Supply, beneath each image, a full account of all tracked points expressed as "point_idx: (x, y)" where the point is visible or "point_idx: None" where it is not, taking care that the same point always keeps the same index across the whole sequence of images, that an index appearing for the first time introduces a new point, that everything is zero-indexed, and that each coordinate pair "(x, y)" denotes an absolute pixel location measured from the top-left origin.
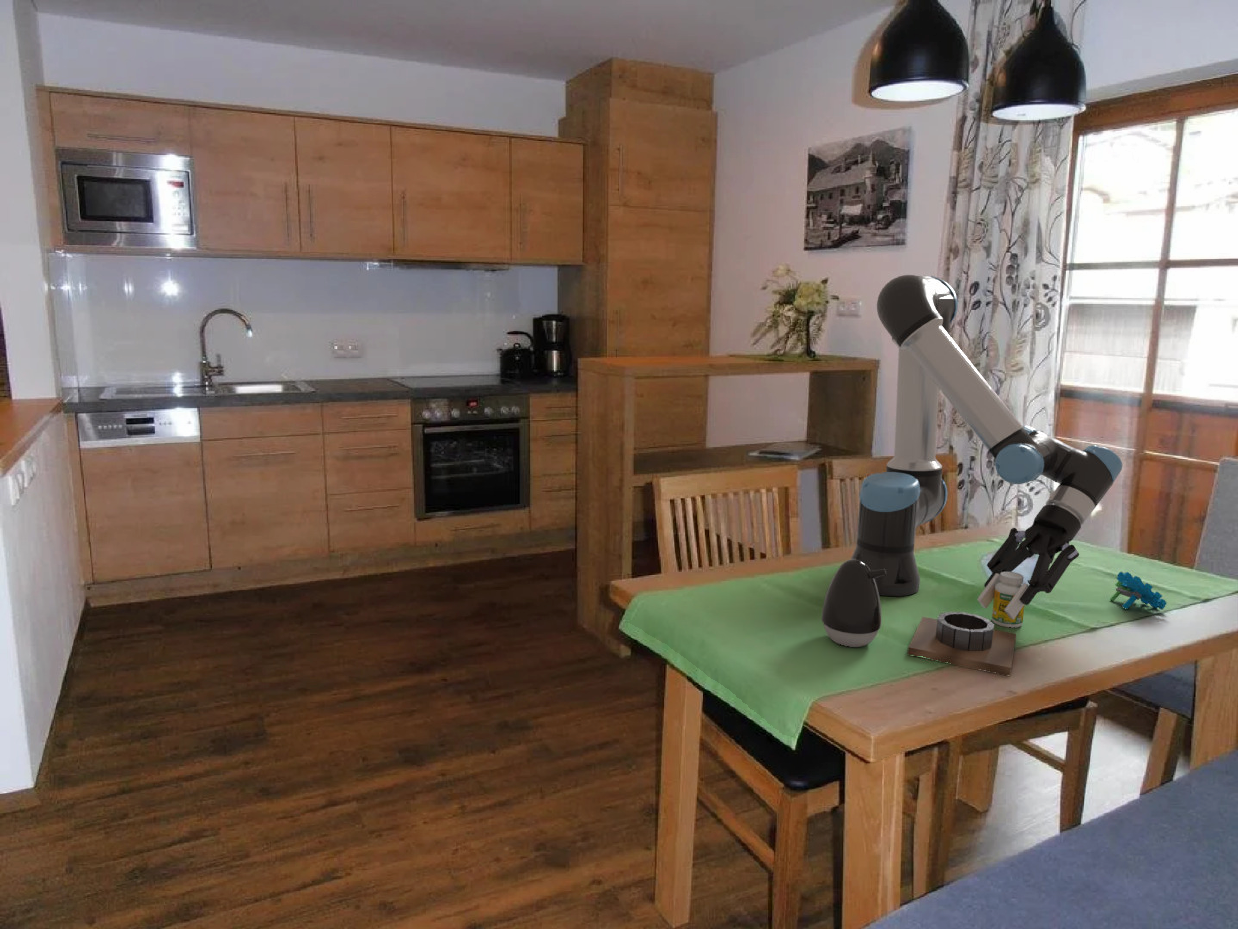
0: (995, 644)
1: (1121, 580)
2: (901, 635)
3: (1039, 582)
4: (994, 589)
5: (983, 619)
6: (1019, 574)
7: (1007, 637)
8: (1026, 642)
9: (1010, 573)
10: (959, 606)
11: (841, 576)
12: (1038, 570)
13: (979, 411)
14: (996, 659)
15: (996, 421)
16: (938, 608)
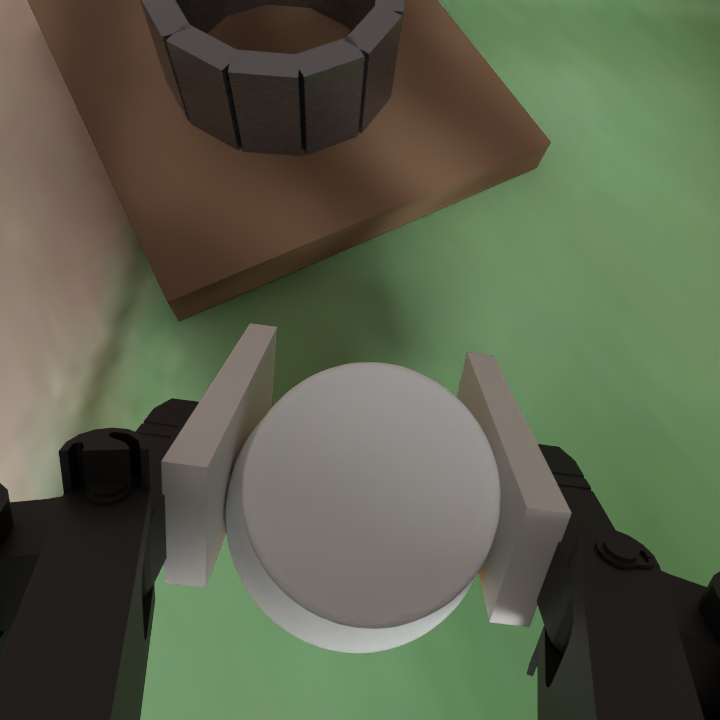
0: (171, 122)
1: None
2: (489, 37)
3: (33, 549)
4: None
5: (235, 52)
6: (327, 582)
7: (174, 226)
8: (139, 361)
9: (415, 521)
10: (647, 524)
11: None
12: (27, 659)
13: None
14: (96, 12)
15: None
16: (662, 392)
